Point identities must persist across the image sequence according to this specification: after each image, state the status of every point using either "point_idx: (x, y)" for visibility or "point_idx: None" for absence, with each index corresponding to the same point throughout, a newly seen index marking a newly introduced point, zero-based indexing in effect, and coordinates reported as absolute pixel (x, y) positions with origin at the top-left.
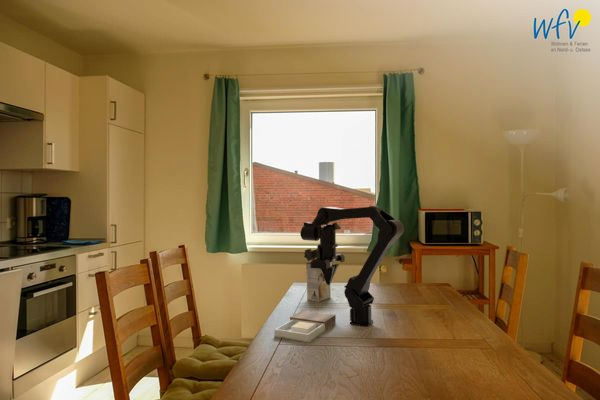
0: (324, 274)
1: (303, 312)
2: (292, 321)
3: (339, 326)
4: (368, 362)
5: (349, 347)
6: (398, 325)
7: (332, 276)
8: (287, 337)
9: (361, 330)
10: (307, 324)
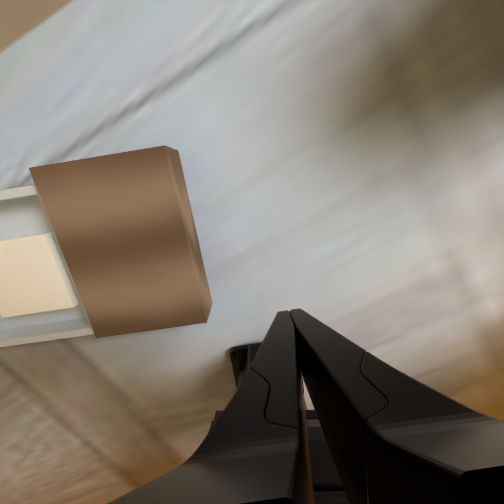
0: (242, 400)
1: (139, 177)
2: (32, 195)
3: (192, 329)
4: (20, 491)
5: (59, 430)
6: None
7: (324, 432)
8: None
9: (201, 397)
10: (40, 286)
